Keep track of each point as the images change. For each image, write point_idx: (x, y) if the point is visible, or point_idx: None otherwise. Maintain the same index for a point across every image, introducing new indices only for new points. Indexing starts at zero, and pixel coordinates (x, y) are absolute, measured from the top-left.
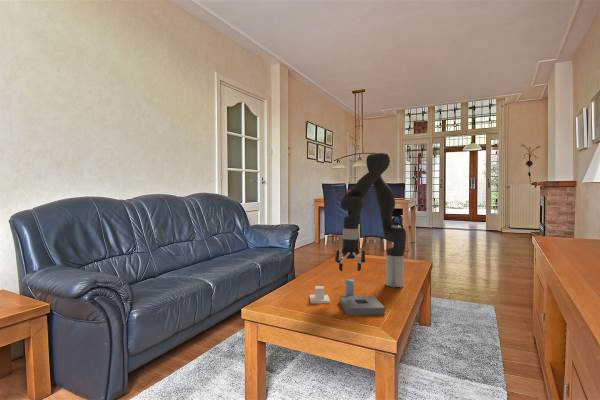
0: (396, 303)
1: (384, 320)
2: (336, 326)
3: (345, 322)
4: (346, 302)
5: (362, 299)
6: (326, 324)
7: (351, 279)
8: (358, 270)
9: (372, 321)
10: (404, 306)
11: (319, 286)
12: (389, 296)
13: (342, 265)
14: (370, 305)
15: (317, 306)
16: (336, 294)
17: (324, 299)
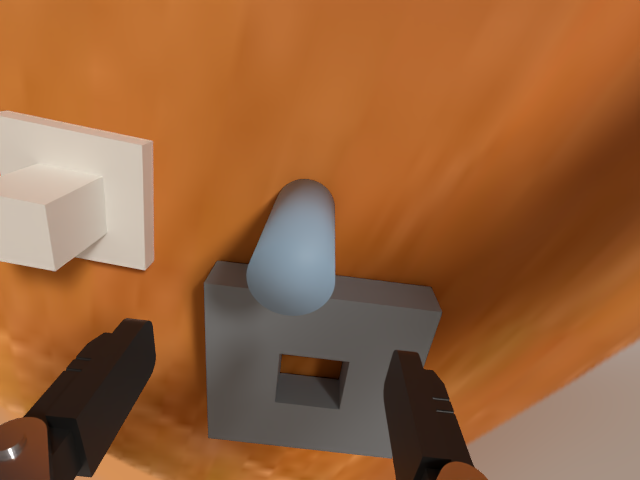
0: (555, 326)
1: (353, 458)
2: (153, 462)
3: (193, 446)
4: (220, 379)
5: (332, 359)
6: (116, 446)
7: (321, 253)
8: (385, 403)
9: (302, 456)
10: (560, 367)
11: (6, 208)
12: (626, 208)
13: (107, 447)
14: (334, 430)
15: (76, 284)
16: (236, 77)
17: (109, 240)
